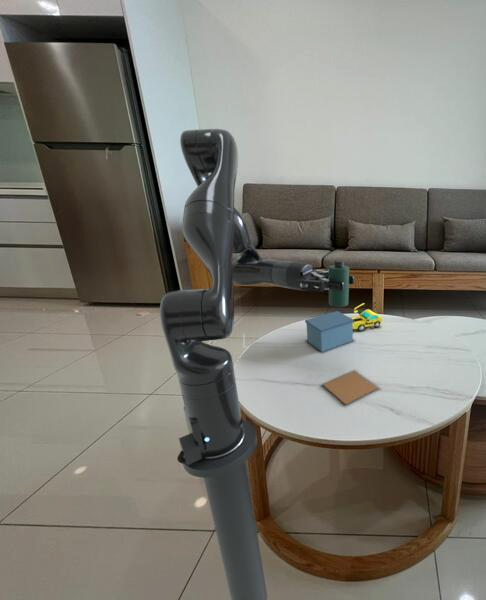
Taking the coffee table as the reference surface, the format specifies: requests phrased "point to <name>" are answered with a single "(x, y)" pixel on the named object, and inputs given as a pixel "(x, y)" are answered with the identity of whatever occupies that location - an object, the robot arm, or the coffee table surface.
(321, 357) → the coffee table surface
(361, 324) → the toy car
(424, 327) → the coffee table surface
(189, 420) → the robot arm
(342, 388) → the mat
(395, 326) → the coffee table surface
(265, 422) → the coffee table surface
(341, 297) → the bottle
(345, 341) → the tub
